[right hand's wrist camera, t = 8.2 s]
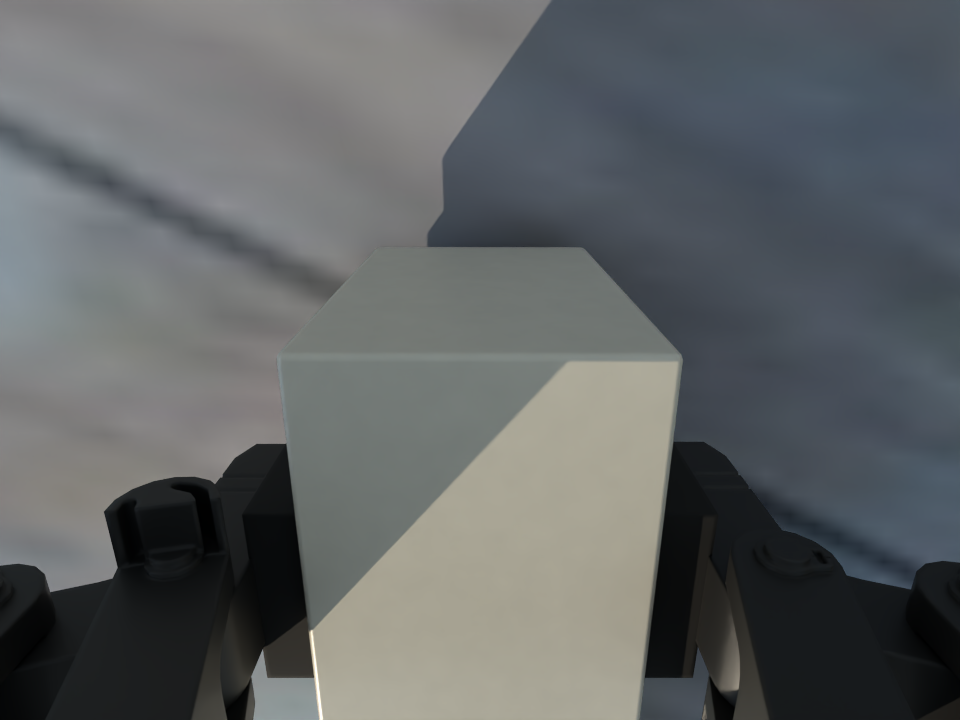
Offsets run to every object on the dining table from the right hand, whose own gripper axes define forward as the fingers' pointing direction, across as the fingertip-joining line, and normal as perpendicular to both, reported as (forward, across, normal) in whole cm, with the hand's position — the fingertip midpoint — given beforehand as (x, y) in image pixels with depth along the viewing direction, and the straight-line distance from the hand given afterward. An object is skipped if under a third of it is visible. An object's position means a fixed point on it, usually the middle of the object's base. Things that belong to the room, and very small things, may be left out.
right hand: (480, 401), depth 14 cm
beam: (0, 0, -10) cm, 10 cm away
